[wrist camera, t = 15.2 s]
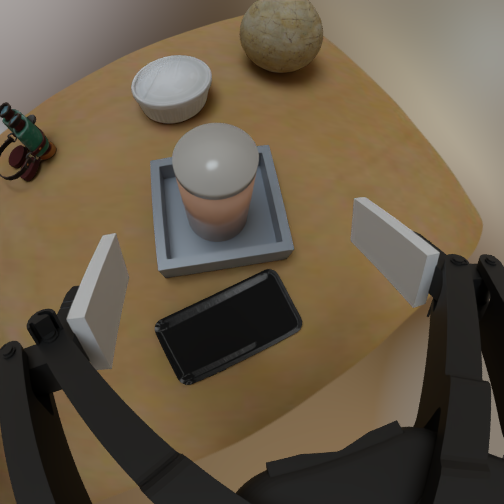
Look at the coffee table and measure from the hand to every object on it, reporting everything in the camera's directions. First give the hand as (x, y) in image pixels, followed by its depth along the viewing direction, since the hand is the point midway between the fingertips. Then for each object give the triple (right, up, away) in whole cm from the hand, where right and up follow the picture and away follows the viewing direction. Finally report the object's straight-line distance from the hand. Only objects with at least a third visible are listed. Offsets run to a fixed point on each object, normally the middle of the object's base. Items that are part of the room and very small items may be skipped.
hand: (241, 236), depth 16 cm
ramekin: (-11, +21, +25) cm, 34 cm away
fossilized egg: (+4, +31, +29) cm, 42 cm away
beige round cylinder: (-3, +4, +19) cm, 20 cm away
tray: (-4, +4, +20) cm, 21 cm away
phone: (-2, -9, +17) cm, 20 cm away
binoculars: (-34, +13, +20) cm, 41 cm away
